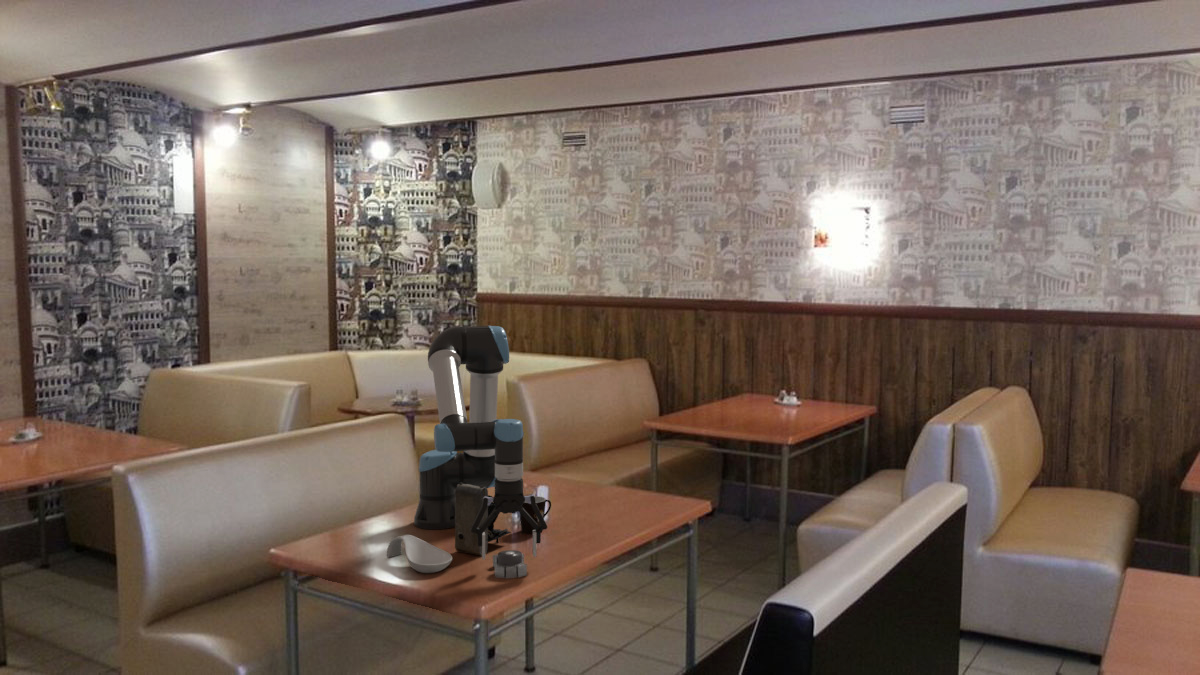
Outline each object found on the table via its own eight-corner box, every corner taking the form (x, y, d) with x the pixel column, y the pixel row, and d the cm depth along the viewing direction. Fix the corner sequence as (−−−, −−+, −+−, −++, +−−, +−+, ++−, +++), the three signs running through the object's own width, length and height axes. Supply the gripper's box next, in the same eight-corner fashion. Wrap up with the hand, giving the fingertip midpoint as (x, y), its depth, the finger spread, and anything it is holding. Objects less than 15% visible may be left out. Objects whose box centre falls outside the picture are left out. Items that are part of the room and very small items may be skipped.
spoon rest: (461, 570, 244) (460, 544, 243) (424, 581, 235) (424, 553, 235) (409, 552, 260) (409, 527, 259) (373, 561, 251) (373, 535, 251)
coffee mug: (522, 536, 274) (522, 503, 274) (514, 529, 282) (514, 497, 282) (559, 532, 279) (559, 500, 278) (550, 525, 287) (550, 494, 286)
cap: (497, 569, 244) (497, 550, 244) (520, 567, 245) (520, 548, 245) (498, 576, 238) (498, 557, 237) (523, 575, 239) (522, 556, 238)
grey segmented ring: (492, 564, 247) (492, 553, 247) (523, 563, 249) (523, 552, 249) (495, 579, 236) (495, 567, 235) (527, 577, 237) (527, 566, 237)
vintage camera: (513, 545, 267) (513, 478, 266) (480, 557, 254) (480, 486, 253) (487, 541, 272) (487, 475, 271) (453, 552, 258) (453, 483, 258)
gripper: (461, 483, 235) (462, 563, 237) (557, 479, 239) (557, 558, 241) (461, 476, 242) (461, 554, 244) (553, 473, 246) (553, 549, 248)
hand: (509, 556), depth 242 cm, fingers open, 13 cm apart
